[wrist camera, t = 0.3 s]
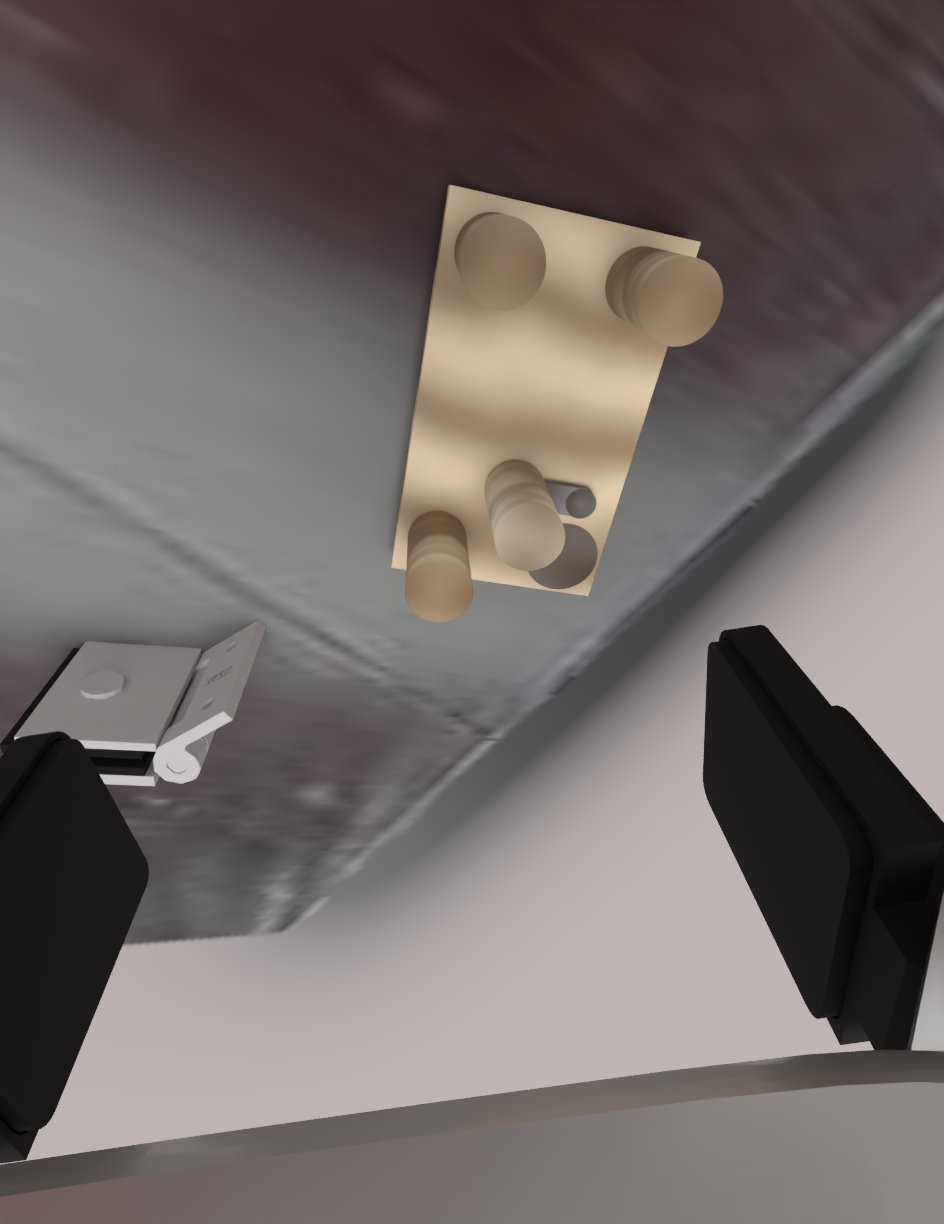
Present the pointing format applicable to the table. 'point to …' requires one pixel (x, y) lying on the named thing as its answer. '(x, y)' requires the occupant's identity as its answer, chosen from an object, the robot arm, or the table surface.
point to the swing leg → (531, 513)
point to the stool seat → (535, 381)
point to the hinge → (144, 705)
